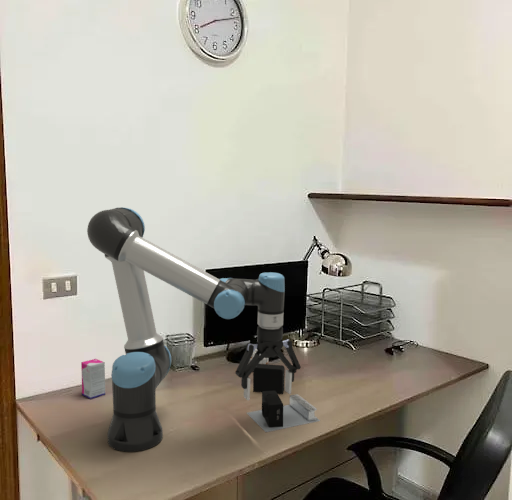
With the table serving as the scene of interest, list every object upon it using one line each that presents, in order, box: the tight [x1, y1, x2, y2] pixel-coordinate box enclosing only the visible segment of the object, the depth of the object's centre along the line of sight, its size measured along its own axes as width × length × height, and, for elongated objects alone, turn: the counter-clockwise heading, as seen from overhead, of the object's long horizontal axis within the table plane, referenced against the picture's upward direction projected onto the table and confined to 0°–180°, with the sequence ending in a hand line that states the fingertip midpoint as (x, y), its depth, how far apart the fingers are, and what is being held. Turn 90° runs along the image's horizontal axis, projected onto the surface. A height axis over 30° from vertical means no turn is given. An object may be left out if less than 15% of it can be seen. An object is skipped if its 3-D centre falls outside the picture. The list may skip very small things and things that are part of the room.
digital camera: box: [261, 391, 284, 428], centre depth 164 cm, size 10×5×7 cm, turn 11°
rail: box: [289, 393, 318, 421], centre depth 170 cm, size 3×12×4 cm, turn 25°
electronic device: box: [252, 363, 286, 395], centre depth 187 cm, size 4×10×10 cm, turn 78°
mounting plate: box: [246, 404, 321, 433], centre depth 167 cm, size 18×14×2 cm
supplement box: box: [80, 358, 106, 400], centre depth 186 cm, size 6×6×12 cm
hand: (267, 395), depth 164 cm, fingers open, 13 cm apart
